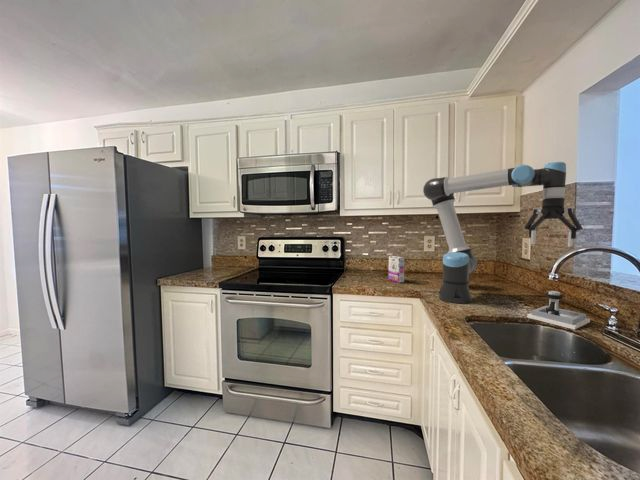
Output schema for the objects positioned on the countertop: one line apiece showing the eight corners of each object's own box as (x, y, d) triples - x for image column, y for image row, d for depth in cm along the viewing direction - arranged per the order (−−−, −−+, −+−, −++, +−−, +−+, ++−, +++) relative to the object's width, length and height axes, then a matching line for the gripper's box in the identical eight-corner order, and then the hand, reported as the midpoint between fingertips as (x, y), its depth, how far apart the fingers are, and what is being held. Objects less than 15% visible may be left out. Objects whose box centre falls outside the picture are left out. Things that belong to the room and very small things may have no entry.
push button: (538, 312, 115) (540, 289, 114) (552, 313, 115) (553, 289, 114) (551, 318, 109) (552, 293, 108) (565, 318, 108) (566, 293, 108)
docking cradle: (527, 317, 113) (527, 310, 113) (543, 311, 121) (544, 304, 120) (574, 329, 100) (575, 321, 100) (589, 322, 108) (590, 314, 108)
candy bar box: (404, 282, 178) (405, 257, 177) (398, 283, 176) (399, 257, 175) (393, 279, 188) (394, 255, 187) (387, 279, 187) (388, 255, 185)
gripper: (594, 196, 114) (591, 247, 115) (525, 200, 135) (523, 243, 136) (587, 195, 110) (584, 247, 111) (517, 199, 131) (515, 243, 133)
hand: (550, 245), depth 124 cm, fingers open, 13 cm apart
